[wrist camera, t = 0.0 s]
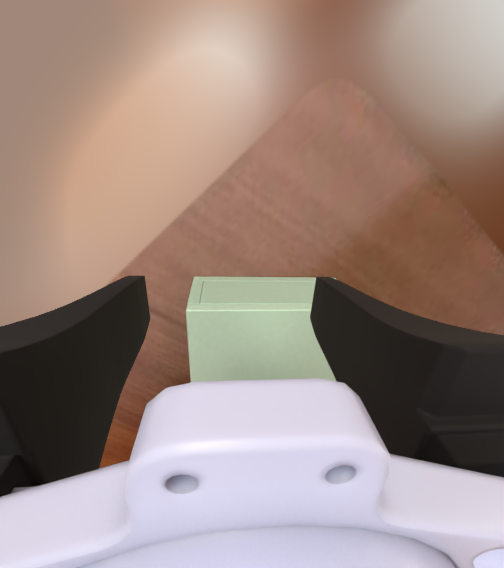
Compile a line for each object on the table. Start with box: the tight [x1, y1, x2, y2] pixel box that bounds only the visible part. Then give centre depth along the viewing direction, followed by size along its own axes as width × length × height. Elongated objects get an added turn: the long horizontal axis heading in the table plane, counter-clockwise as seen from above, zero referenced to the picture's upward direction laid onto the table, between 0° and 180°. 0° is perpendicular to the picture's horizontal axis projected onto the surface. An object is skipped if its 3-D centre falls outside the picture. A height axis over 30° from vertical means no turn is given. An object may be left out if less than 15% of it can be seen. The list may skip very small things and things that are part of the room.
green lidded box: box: [188, 277, 336, 305], centre depth 24 cm, size 13×12×4 cm
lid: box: [186, 304, 336, 382], centre depth 20 cm, size 13×12×5 cm
